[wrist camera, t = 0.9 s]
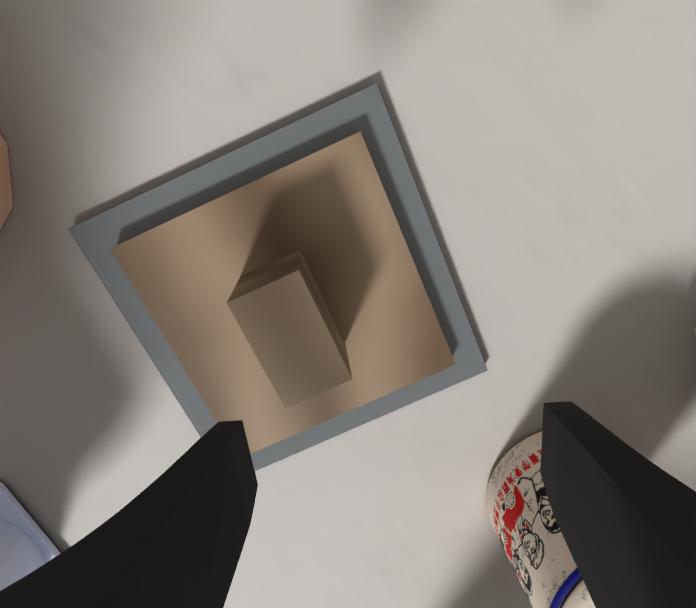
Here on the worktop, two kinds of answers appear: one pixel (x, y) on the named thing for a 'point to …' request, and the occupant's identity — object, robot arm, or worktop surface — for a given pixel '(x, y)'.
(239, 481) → the robot arm
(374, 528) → the worktop surface
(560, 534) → the teacup with lid
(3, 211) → the terracotta bowl
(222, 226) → the walnut lid
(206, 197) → the rubber mat
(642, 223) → the worktop surface
